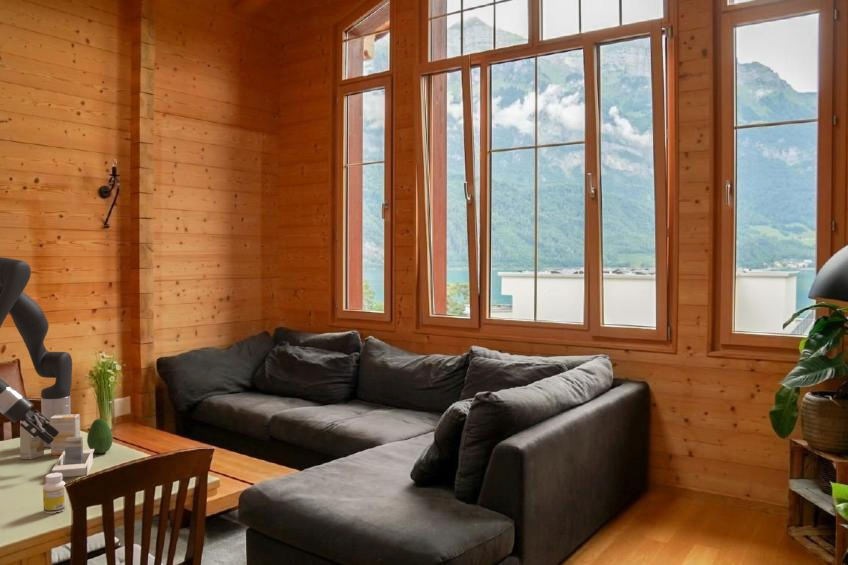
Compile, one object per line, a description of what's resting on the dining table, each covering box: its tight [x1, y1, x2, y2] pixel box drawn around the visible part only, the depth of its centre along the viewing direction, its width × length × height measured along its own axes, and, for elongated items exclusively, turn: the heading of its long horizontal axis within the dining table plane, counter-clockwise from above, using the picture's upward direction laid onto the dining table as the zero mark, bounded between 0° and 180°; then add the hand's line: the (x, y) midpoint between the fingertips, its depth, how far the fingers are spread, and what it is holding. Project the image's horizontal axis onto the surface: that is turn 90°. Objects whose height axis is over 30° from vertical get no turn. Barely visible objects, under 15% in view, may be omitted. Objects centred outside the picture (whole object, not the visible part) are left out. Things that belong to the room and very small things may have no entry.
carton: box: [51, 448, 95, 478], centre depth 223 cm, size 21×9×4 cm, turn 18°
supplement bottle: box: [42, 472, 67, 514], centre depth 189 cm, size 5×5×10 cm
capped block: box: [65, 436, 84, 465], centre depth 223 cm, size 4×4×10 cm
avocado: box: [86, 418, 114, 454], centre depth 241 cm, size 8×8×12 cm
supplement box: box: [50, 413, 81, 456], centre depth 241 cm, size 8×5×13 cm, turn 97°
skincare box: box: [19, 421, 45, 460], centre depth 237 cm, size 6×4×12 cm
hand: (54, 438), depth 221 cm, fingers open, 8 cm apart
